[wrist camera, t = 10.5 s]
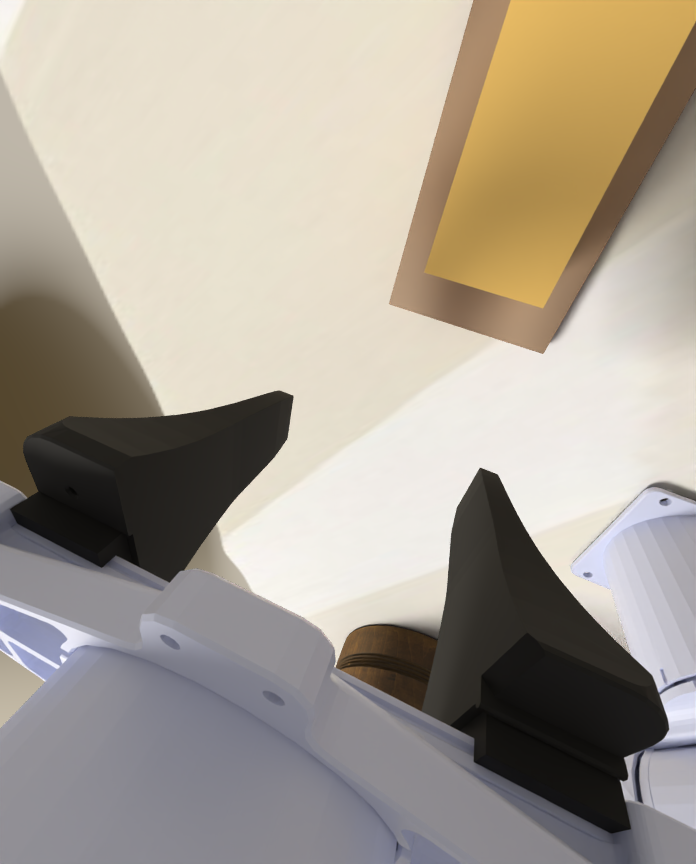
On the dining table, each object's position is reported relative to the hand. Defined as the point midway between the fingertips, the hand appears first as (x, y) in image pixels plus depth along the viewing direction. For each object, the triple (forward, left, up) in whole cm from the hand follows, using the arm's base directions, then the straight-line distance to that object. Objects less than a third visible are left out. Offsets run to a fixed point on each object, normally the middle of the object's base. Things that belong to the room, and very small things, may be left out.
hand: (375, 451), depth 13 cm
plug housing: (-2, -10, -8) cm, 13 cm away
